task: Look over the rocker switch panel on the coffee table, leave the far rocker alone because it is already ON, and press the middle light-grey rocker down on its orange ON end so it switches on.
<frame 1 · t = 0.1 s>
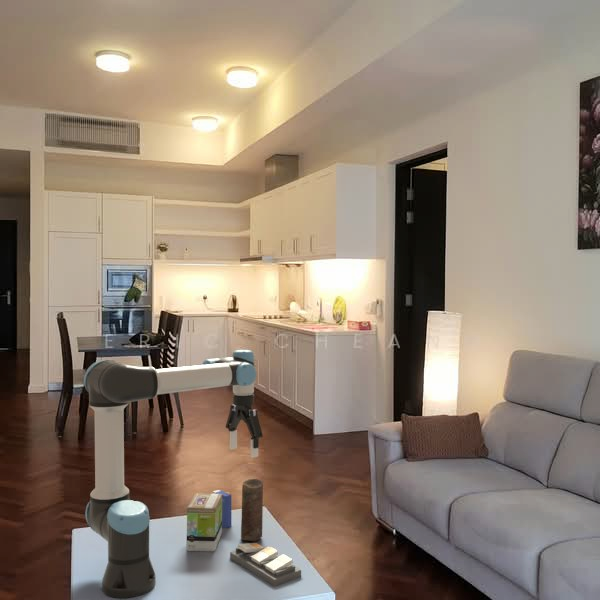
hand: (243, 452, 225), 28 cm above the table, fingers open, 13 cm apart
rocker switch panel: (264, 566, 197), on the table
tea box: (204, 543, 216), on the table
rocker near: (278, 563, 191), point 4 cm above the table, hinge at -12.0°
brown weathered cylinder: (251, 539, 218), on the table
rocker middle: (264, 555, 197), point 4 cm above the table, hinge at -12.0°
rocker far: (250, 547, 203), point 4 cm above the table, hinge at 12.0°
walkman: (221, 524, 232), on the table
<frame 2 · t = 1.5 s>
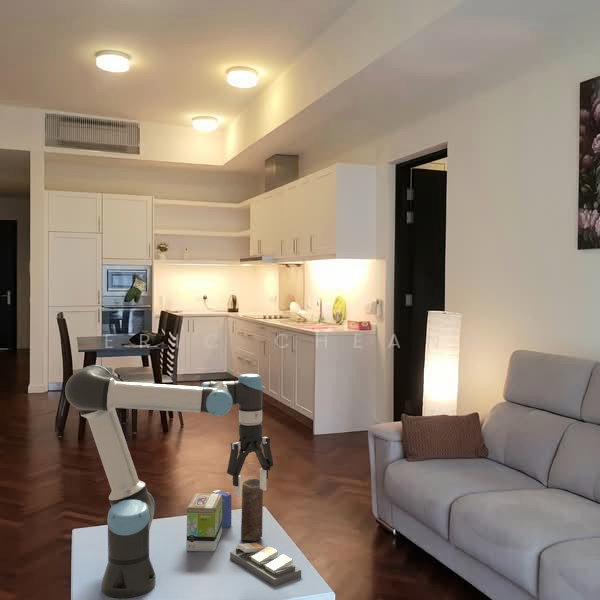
hand: (250, 492, 202), 21 cm above the table, fingers open, 9 cm apart
nothing on the table moved.
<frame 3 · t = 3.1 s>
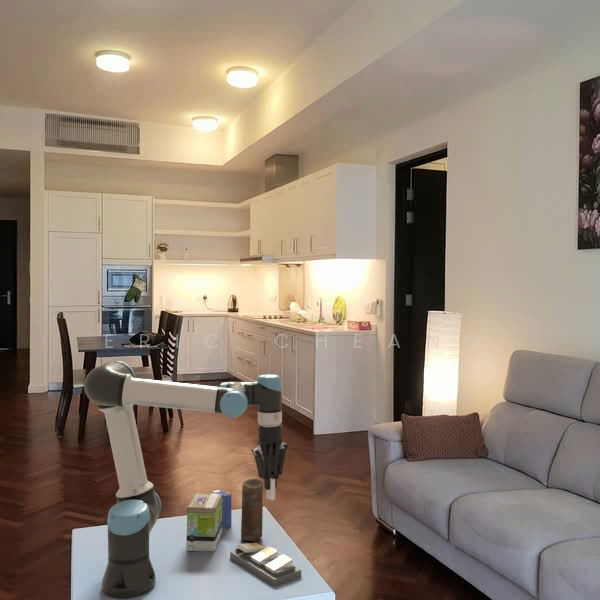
hand: (270, 498, 199), 21 cm above the table, fingers closed
nothing on the table moved.
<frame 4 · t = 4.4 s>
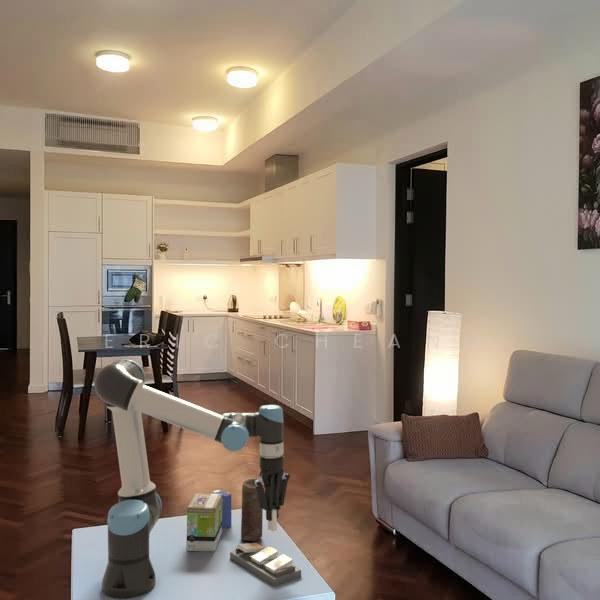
hand: (272, 529, 199), 11 cm above the table, fingers closed
nothing on the table moved.
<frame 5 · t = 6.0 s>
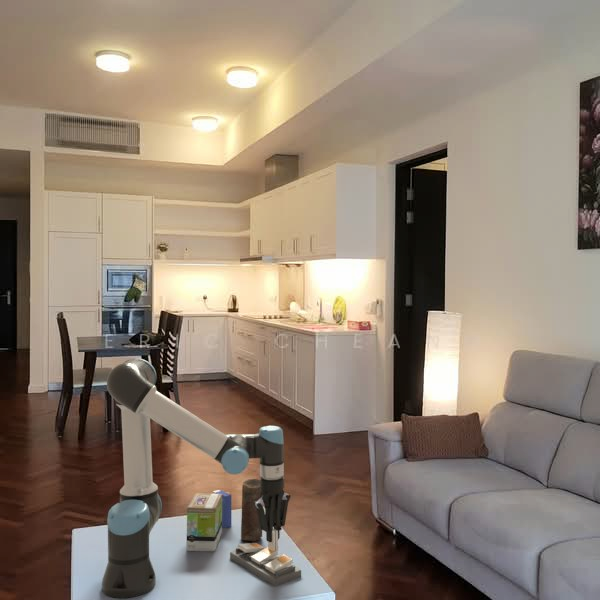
hand: (273, 550, 199), 4 cm above the table, fingers closed
rocker middle: (264, 555, 197), point 4 cm above the table, hinge at -11.4°, touching gripper
everything else where it was.
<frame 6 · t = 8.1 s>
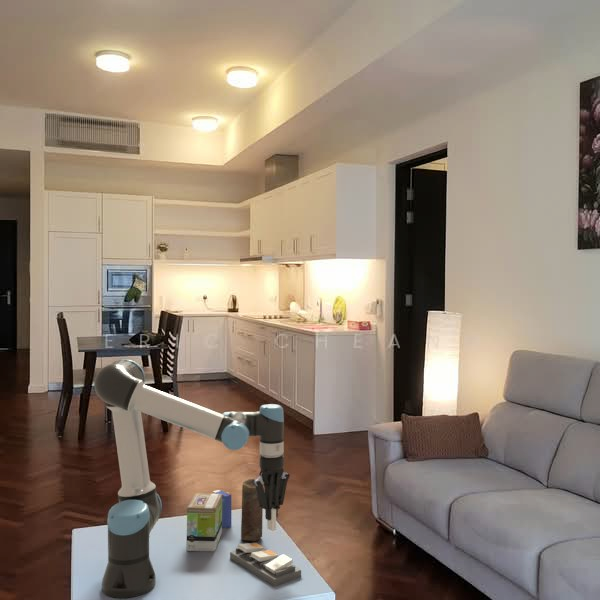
hand: (271, 528, 199), 11 cm above the table, fingers closed
rocker middle: (264, 555, 197), point 4 cm above the table, hinge at 8.5°
everything else where it was.
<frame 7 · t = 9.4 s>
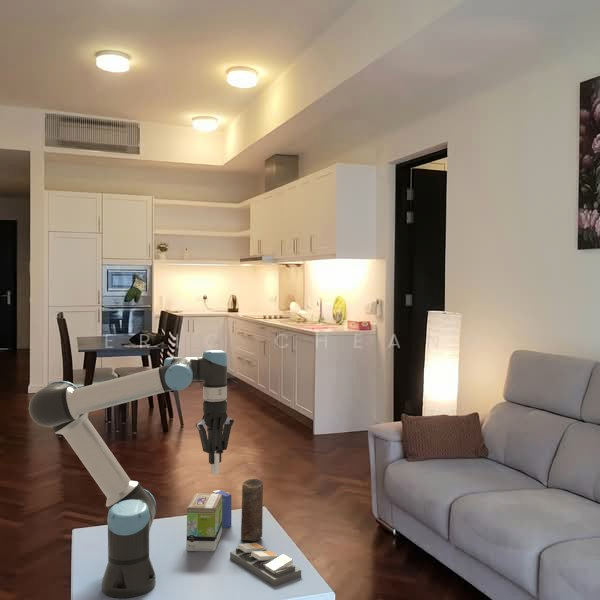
hand: (215, 473, 200), 28 cm above the table, fingers closed
rocker middle: (264, 555, 197), point 4 cm above the table, hinge at 14.0°
everything else where it was.
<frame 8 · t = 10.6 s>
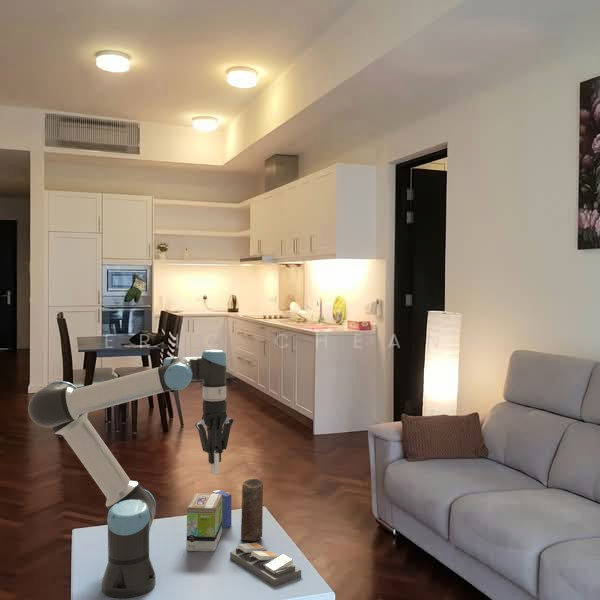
hand: (214, 473, 200), 28 cm above the table, fingers closed
rocker middle: (264, 555, 197), point 4 cm above the table, hinge at 16.6°
everything else where it was.
at the end: rocker middle at +17° (first picture: -12°); rocker far at +12° (first picture: +12°); rocker near at -12° (first picture: -12°) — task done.
